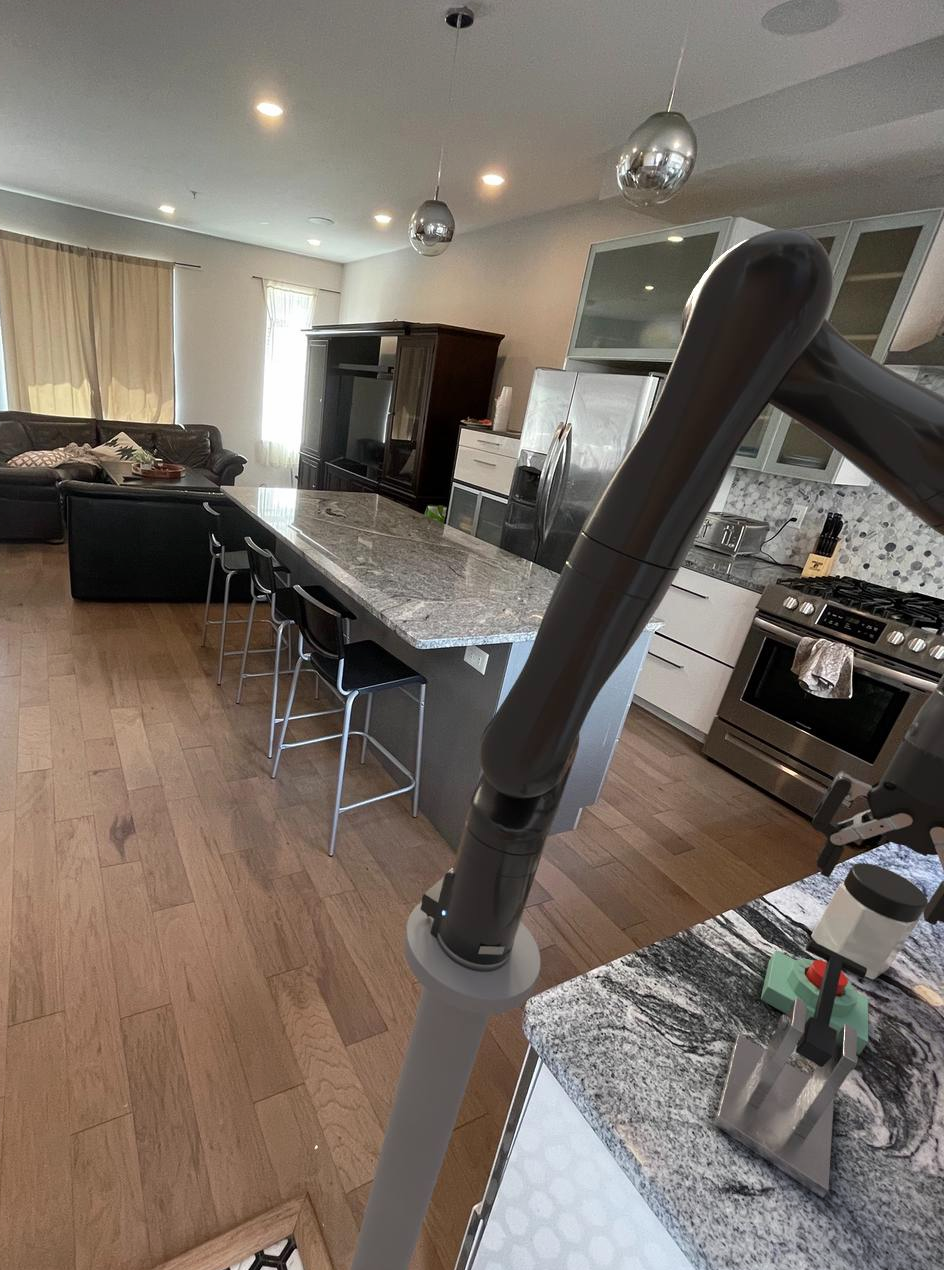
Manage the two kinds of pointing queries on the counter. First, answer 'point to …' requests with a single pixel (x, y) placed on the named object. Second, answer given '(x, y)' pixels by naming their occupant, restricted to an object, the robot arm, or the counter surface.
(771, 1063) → the bracket
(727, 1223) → the counter surface
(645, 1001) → the counter surface
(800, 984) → the button block
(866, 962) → the jar
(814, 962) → the button
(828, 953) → the lever
